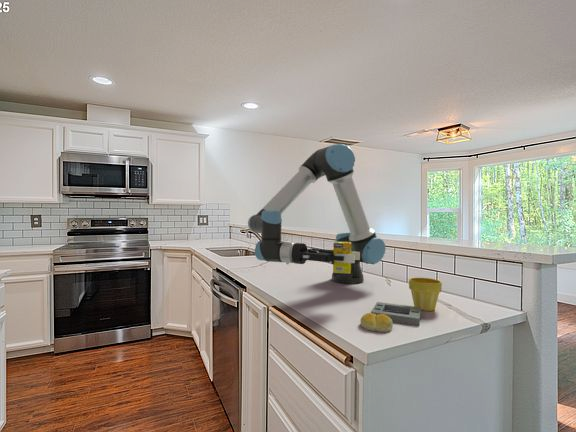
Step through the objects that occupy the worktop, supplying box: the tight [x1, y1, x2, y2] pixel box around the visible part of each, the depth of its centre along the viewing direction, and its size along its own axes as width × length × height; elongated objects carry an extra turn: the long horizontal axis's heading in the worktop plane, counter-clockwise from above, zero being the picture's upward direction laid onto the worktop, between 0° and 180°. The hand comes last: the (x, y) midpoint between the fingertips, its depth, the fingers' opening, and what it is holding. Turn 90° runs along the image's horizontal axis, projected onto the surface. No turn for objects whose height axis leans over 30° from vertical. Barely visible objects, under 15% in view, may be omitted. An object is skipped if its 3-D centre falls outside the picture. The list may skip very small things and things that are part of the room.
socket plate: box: [370, 301, 422, 326], centre depth 101 cm, size 12×14×2 cm
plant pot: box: [408, 276, 443, 312], centre depth 109 cm, size 10×10×10 cm
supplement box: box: [332, 241, 351, 276], centre depth 108 cm, size 6×6×11 cm
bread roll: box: [359, 312, 394, 333], centre depth 91 cm, size 8×9×4 cm
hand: (356, 257), depth 106 cm, fingers closed on supplement box, 7 cm apart
